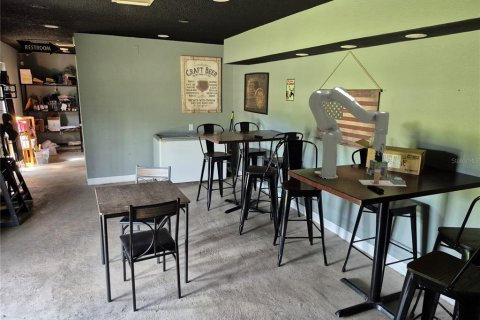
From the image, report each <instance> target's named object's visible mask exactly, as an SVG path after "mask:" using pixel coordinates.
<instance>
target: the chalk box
mask: <svg viewBox="0 0 480 320" xmlns="http://www.w3.org/2000/svg"><path fill="white" fill-rule="evenodd" d="M388 164H389V162H388V161H386V160H384V159H383V160H382V162H377V161H375V159H370V160H369V170H368V176H370V177H372V178H374V174H375V169H380V178H383V179H385V178H386V179H387V178H388V167H389V166H388Z"/></svg>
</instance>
